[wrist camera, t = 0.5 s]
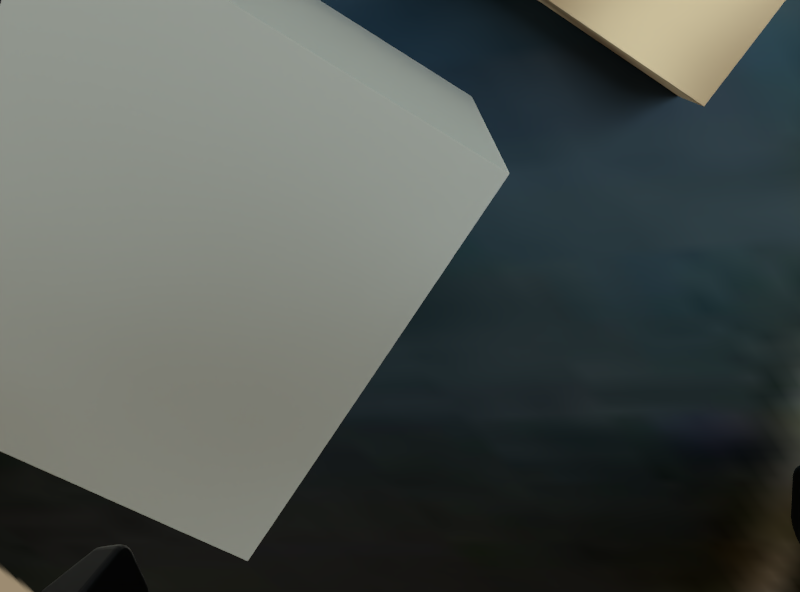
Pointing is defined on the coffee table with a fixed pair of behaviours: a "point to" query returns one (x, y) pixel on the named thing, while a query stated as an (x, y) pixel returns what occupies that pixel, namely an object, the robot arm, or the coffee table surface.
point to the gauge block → (213, 241)
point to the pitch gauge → (674, 36)
